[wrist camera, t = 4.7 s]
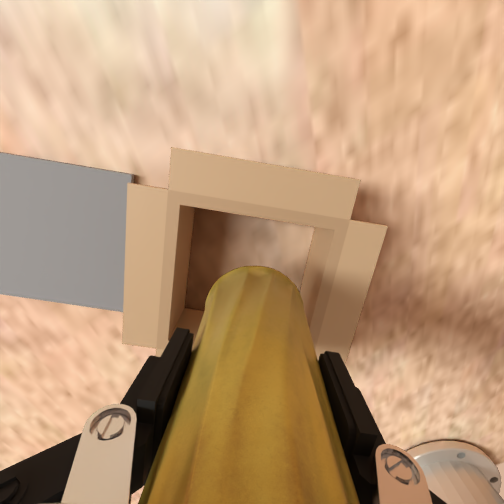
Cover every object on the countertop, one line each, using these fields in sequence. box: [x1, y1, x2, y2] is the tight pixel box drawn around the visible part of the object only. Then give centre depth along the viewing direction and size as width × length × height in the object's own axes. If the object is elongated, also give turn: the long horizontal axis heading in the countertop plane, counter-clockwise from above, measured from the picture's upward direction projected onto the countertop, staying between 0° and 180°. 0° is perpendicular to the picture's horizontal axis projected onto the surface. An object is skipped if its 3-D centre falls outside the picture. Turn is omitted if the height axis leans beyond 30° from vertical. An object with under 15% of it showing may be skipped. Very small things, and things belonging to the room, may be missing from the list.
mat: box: [0, 152, 134, 312], centre depth 22 cm, size 12×12×1 cm
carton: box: [122, 147, 388, 364], centre depth 21 cm, size 17×17×5 cm
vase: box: [138, 266, 360, 504], centre depth 10 cm, size 6×6×14 cm
